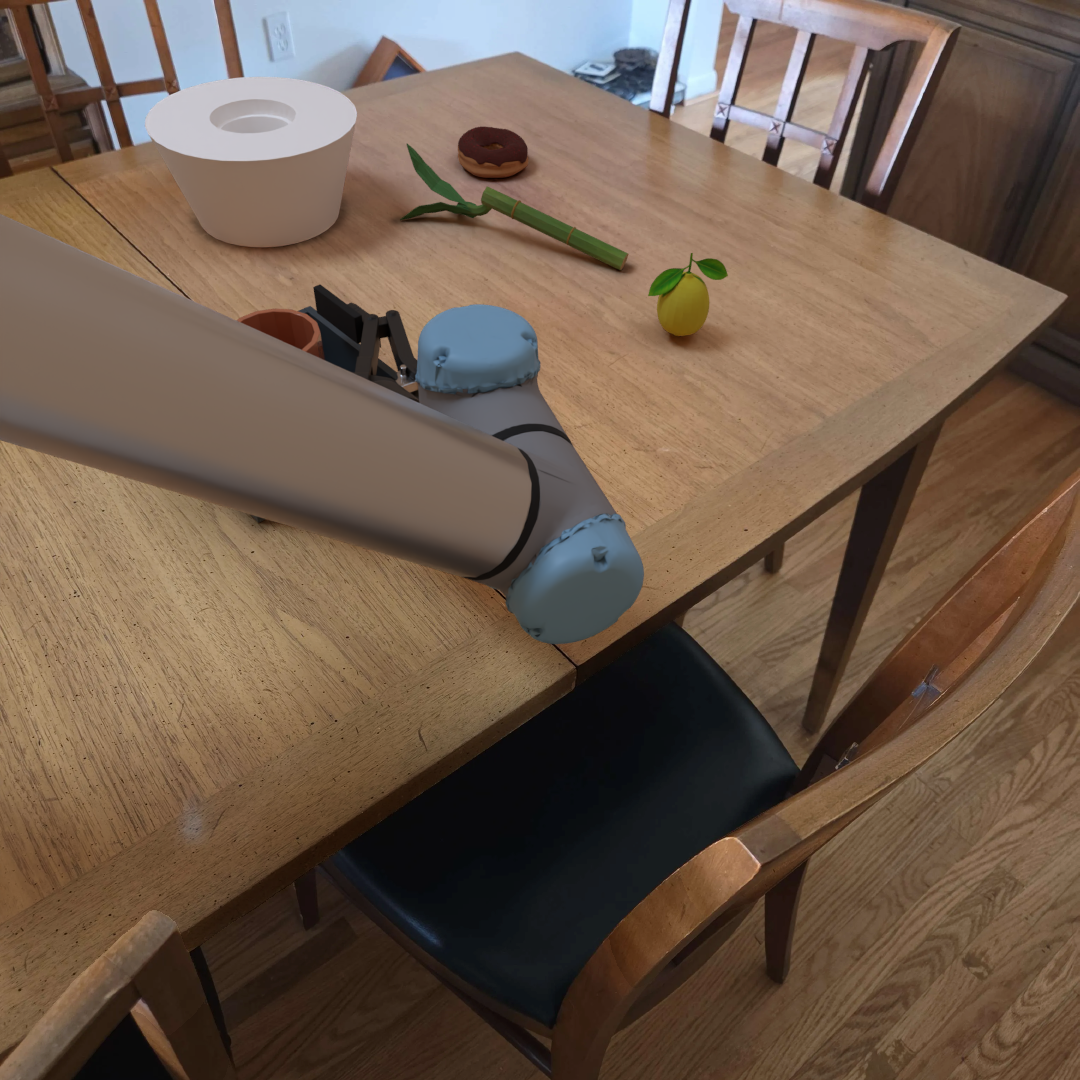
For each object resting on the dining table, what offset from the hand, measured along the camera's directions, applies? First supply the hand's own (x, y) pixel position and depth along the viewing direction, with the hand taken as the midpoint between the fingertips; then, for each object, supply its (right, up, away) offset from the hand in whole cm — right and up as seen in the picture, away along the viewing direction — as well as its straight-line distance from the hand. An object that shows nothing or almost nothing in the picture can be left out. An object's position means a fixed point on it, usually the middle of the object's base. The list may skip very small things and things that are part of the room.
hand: (253, 324), depth 82 cm
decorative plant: (+22, +18, +33) cm, 44 cm away
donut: (+19, +33, +46) cm, 60 cm away
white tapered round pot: (-9, +22, +35) cm, 42 cm away
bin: (+2, -9, +6) cm, 11 cm away
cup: (+2, -8, +5) cm, 10 cm away
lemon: (+41, +3, +20) cm, 45 cm away
